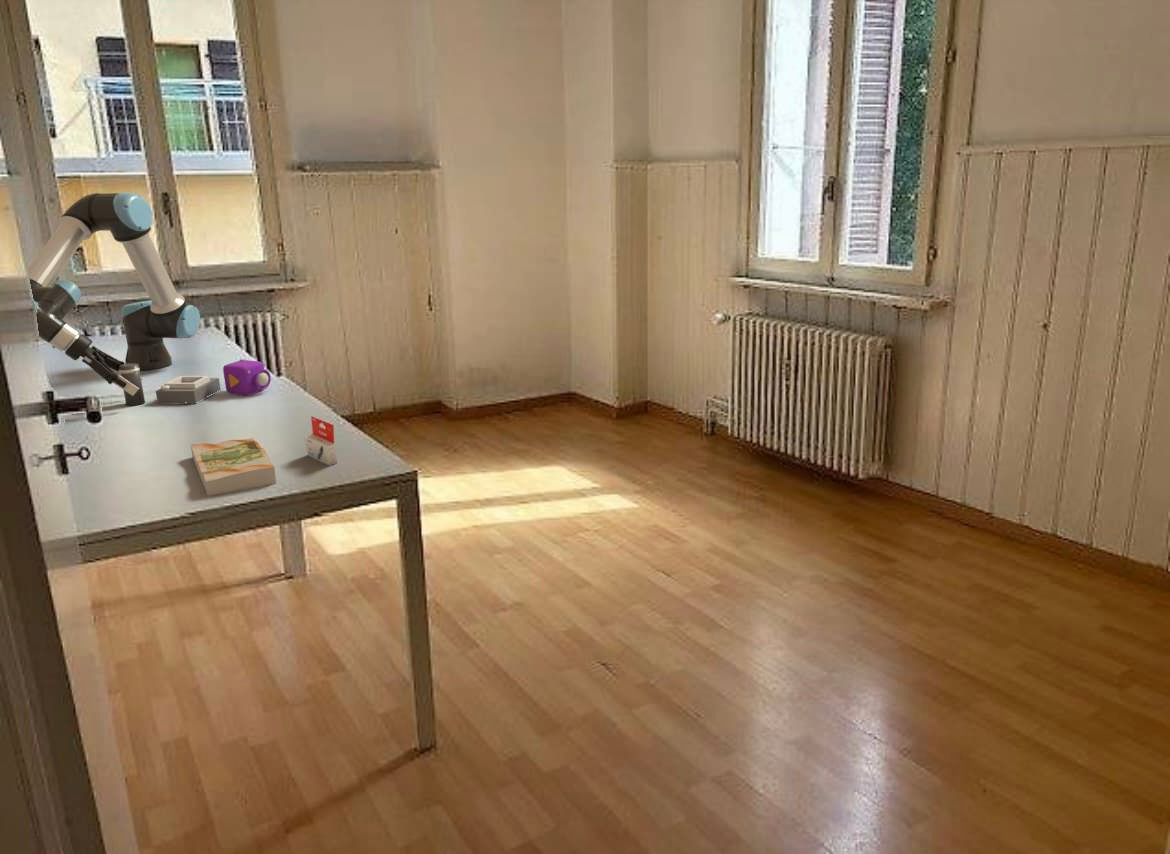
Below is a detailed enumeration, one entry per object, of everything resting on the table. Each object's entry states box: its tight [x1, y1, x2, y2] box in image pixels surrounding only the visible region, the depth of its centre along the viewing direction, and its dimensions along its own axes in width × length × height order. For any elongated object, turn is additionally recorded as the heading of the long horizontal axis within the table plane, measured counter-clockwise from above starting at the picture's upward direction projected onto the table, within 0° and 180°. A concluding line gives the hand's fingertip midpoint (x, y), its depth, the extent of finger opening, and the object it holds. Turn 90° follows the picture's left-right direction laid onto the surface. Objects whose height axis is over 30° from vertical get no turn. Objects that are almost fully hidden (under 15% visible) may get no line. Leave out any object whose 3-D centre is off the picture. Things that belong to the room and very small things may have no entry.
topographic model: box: [190, 437, 277, 496], centre depth 205 cm, size 30×14×5 cm, turn 29°
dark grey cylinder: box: [119, 363, 146, 407], centre depth 261 cm, size 5×5×12 cm
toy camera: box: [222, 357, 272, 396], centre depth 273 cm, size 11×14×10 cm
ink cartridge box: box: [304, 416, 338, 466], centre depth 210 cm, size 2×11×10 cm, turn 45°
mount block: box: [155, 375, 221, 404], centre depth 269 cm, size 16×12×6 cm
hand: (138, 387), depth 262 cm, fingers open, 13 cm apart
